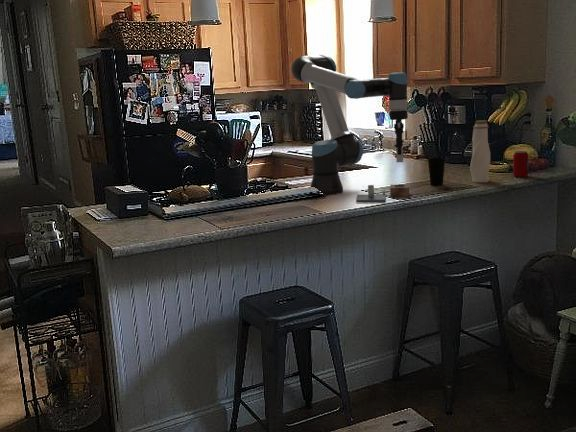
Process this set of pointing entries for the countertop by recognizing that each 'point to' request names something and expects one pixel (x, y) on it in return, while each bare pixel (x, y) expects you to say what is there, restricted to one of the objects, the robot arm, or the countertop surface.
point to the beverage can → (520, 163)
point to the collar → (399, 190)
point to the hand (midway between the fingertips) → (399, 160)
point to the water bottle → (480, 152)
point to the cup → (436, 171)
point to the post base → (375, 199)
